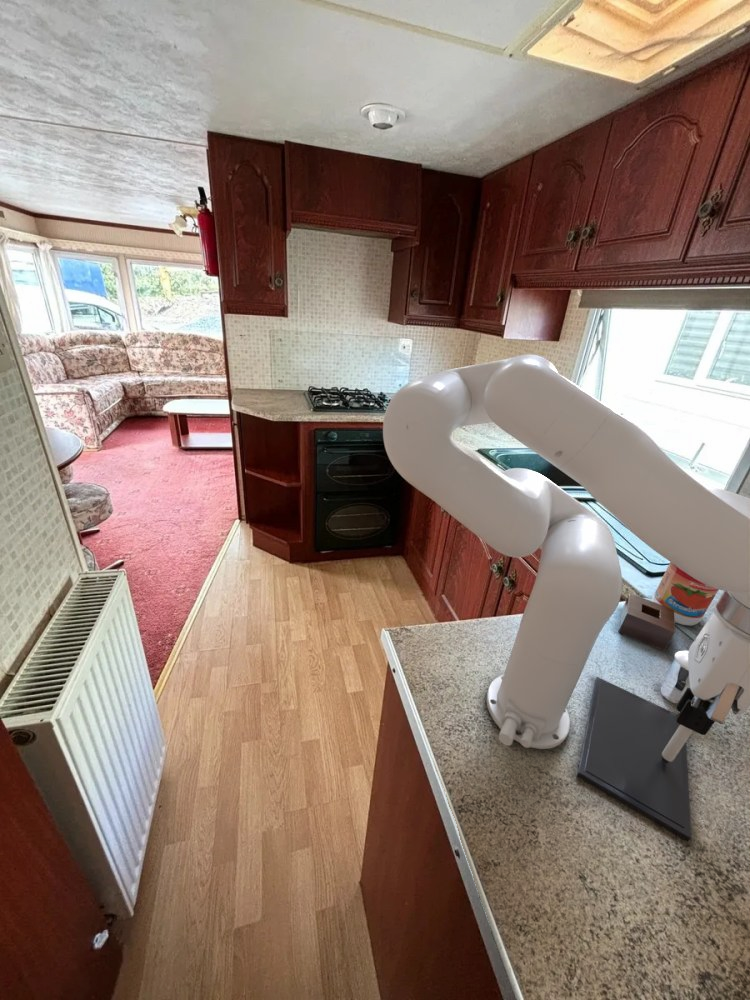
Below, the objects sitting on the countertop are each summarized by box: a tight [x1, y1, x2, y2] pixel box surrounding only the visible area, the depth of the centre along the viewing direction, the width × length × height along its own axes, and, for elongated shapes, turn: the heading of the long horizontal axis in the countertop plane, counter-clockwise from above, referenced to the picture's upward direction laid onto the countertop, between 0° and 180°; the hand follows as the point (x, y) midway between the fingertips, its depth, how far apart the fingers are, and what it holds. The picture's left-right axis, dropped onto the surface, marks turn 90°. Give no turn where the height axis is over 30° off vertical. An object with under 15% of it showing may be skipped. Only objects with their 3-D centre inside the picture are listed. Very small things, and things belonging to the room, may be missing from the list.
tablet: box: [576, 676, 692, 843], centre depth 60 cm, size 20×13×1 cm, turn 147°
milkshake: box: [660, 650, 690, 704], centre depth 67 cm, size 5×5×10 cm
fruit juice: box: [651, 561, 720, 626], centre depth 85 cm, size 9×9×28 cm
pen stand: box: [618, 593, 676, 652], centre depth 83 cm, size 8×8×5 cm
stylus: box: [662, 699, 714, 763], centre depth 54 cm, size 1×1×14 cm
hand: (689, 720), depth 54 cm, fingers closed on stylus, 1 cm apart
